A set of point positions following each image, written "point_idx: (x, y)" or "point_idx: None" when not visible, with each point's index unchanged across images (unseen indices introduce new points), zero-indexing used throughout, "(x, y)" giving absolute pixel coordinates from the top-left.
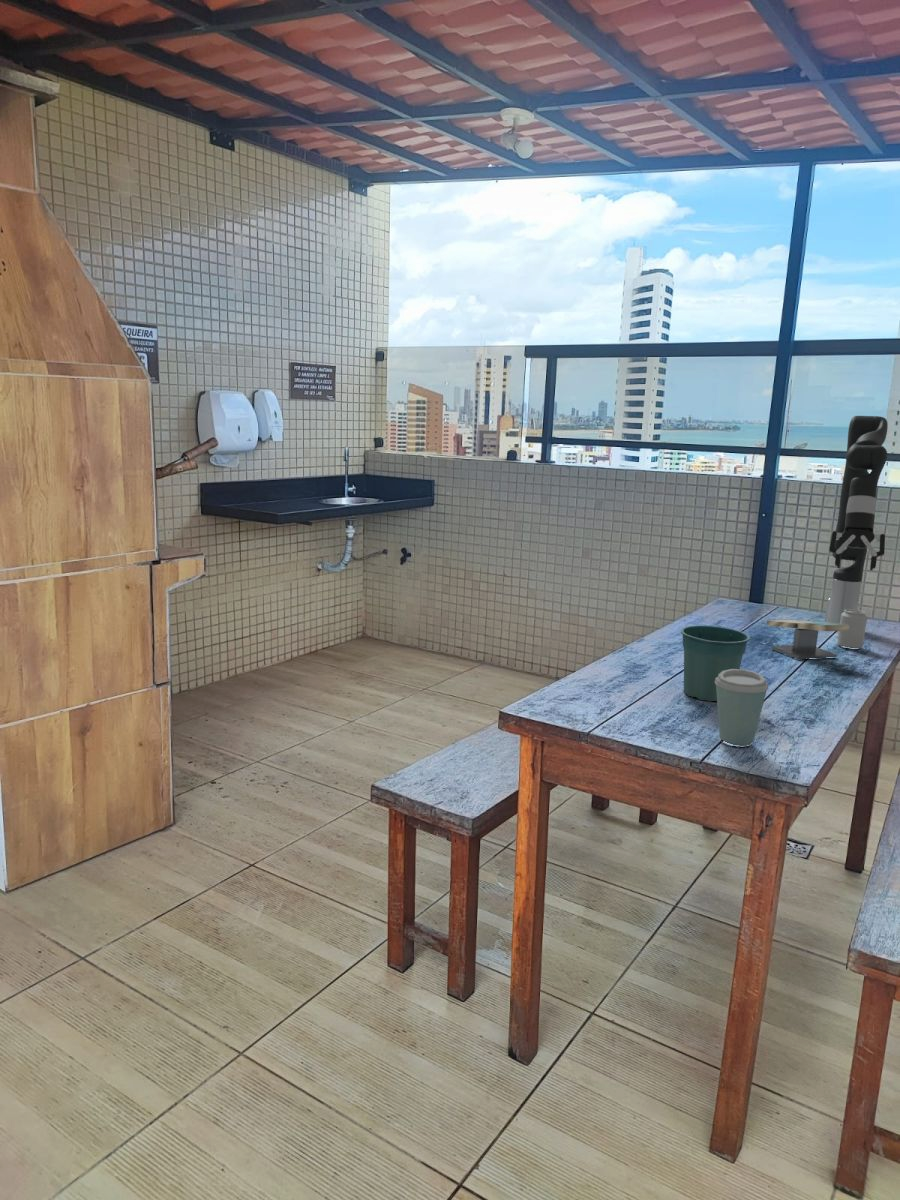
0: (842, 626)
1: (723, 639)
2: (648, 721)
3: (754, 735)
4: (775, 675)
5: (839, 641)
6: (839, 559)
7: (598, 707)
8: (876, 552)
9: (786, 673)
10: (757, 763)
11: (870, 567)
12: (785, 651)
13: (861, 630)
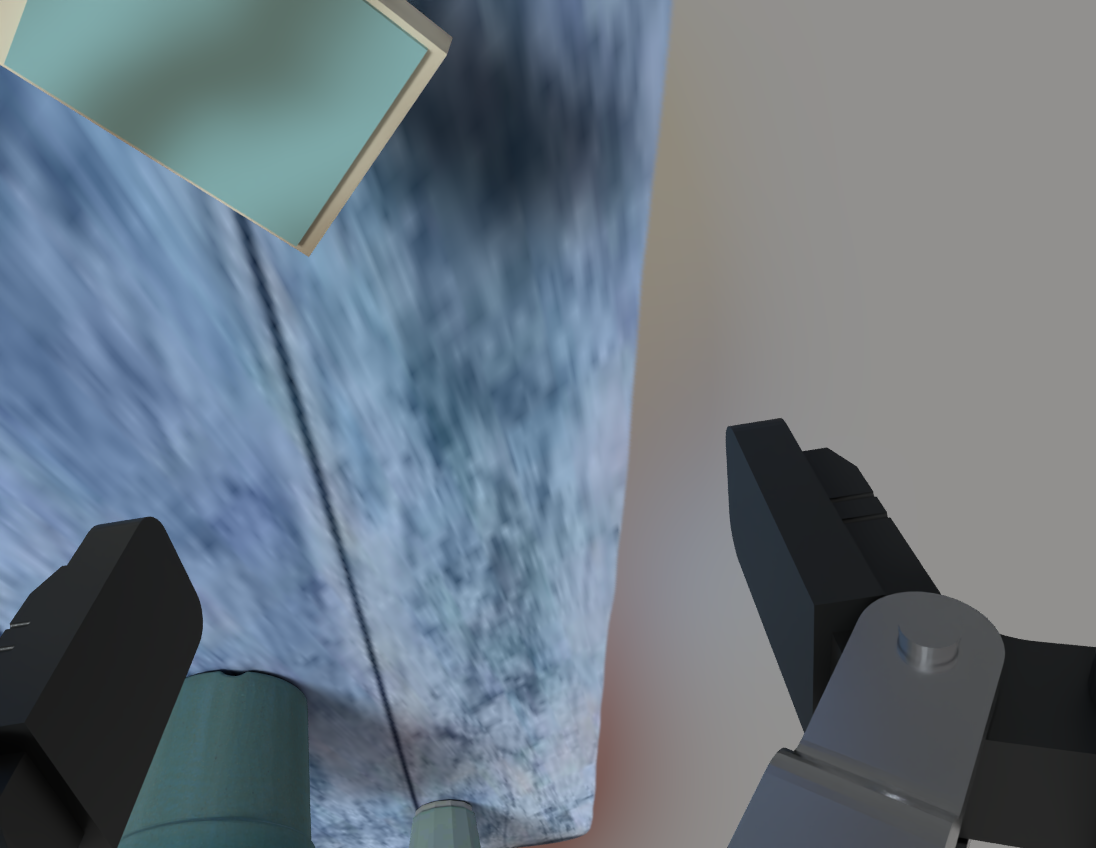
0: (402, 117)
1: (184, 837)
2: None
3: (476, 826)
4: (251, 439)
5: None
6: (135, 753)
7: None
8: (984, 829)
9: (268, 381)
10: (506, 829)
11: (744, 565)
12: None
13: None
